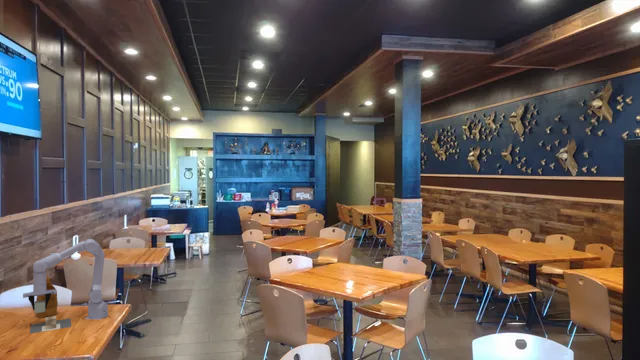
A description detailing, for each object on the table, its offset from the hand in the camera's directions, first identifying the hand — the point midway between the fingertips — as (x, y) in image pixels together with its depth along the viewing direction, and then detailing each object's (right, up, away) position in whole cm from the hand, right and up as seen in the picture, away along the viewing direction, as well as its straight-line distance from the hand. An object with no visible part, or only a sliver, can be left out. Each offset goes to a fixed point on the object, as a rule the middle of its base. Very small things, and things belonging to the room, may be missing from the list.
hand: (40, 309), depth 220 cm
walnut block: (+8, -9, -3) cm, 12 cm away
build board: (+6, -9, 0) cm, 11 cm away
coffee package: (-8, -9, +18) cm, 21 cm away
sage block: (0, -1, 0) cm, 1 cm away
